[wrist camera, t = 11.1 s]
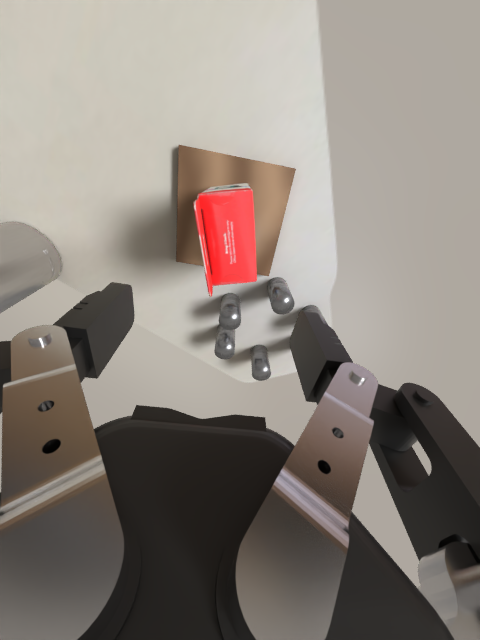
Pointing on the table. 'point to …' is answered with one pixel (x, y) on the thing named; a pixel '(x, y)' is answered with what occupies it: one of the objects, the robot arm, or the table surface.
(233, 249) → the ink box
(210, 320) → the table surface
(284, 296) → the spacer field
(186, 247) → the walnut board
